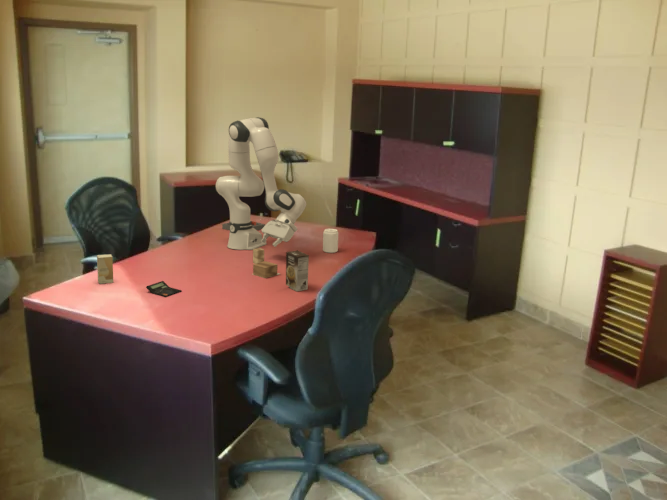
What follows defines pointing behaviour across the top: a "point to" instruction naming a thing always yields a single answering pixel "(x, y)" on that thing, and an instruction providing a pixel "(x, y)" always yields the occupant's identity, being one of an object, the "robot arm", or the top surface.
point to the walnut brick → (265, 269)
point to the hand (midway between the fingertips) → (268, 243)
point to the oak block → (258, 255)
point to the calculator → (162, 289)
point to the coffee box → (297, 270)
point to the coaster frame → (257, 226)
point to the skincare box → (105, 268)
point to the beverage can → (330, 240)
